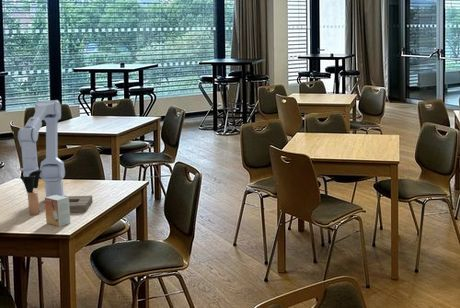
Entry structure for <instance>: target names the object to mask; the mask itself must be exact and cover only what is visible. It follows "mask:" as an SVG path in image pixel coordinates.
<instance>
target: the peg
mask: <svg viewBox="0 0 460 308" xmlns="http://www.w3.org/2000/svg"><path fill="white" fill-rule="evenodd" d="M27 202H28V203H27V204H28V213H29V214H30V215H29V216H37V214H38V215H40V214H41V213H40V201H39V193H38V191H33V193H27ZM39 213H40V214H39Z"/></svg>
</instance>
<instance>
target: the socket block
mask: <svg viewBox="0 0 460 308" xmlns="http://www.w3.org/2000/svg"><path fill="white" fill-rule="evenodd" d="M63 197H69V208H70V214H72V213H75V214H76V213H86V212H88V210H89V208H90V207H91V206H92V204H93V203H94V202H93V195H66V196H63Z"/></svg>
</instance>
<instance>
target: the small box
mask: <svg viewBox="0 0 460 308" xmlns="http://www.w3.org/2000/svg"><path fill="white" fill-rule="evenodd" d="M44 200H45V202H44V209H45V220H46V221H45V222H46V224H48V225H53V226H55V225H56V226H55V227H58V226H60V227H63V226H66V224H67V225H69V224H71V213H70V208H69V197H63V196H59V195H53V196H49V197H46V196H45V197H44Z"/></svg>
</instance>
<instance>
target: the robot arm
mask: <svg viewBox="0 0 460 308" xmlns="http://www.w3.org/2000/svg"><path fill="white" fill-rule="evenodd" d="M61 119H62V105H61V102H60V101H59V100H58V99H54V100H36V101H35V103H34V114H33V116H30V117H29V119H28V120H27V122H26V123H25V125H24V126H23V128H22V127H21V128H19V130H18V132H17V140H18V143H19V147H20V148H21V157H22V158H21V160H22V167H21V168H20V172H21V171H23V175H20V179H21V181H22V182H23V184H24V187H25V190H26V193H27V194H28V193H33V192H34V189H38V187H39V182H40V181H39V180H40V179H41V180H42V181H43V182H44V190H45V197H49V196H53V195H59V196H67V195H66V194H64V185H63V184H64V183H63V181H62V180H63V179H64V178H65V176H66V170H65V169H66V168H65V162H64V161H63V160H61V159H60V158H59V157H58V148H59V147H58V144H59V141H58V122H59V120H61ZM42 121H44V122H45V147H46V148H45V158H44V159H43V160H41V162H40V167H39V165H38V162H39V161H38V152H37V141H38V140H39V139H38V138H39V134H40V133H39V132H40V130H41V128H42V125H43V122H42ZM43 202H44V203H45V199H43Z"/></svg>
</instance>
